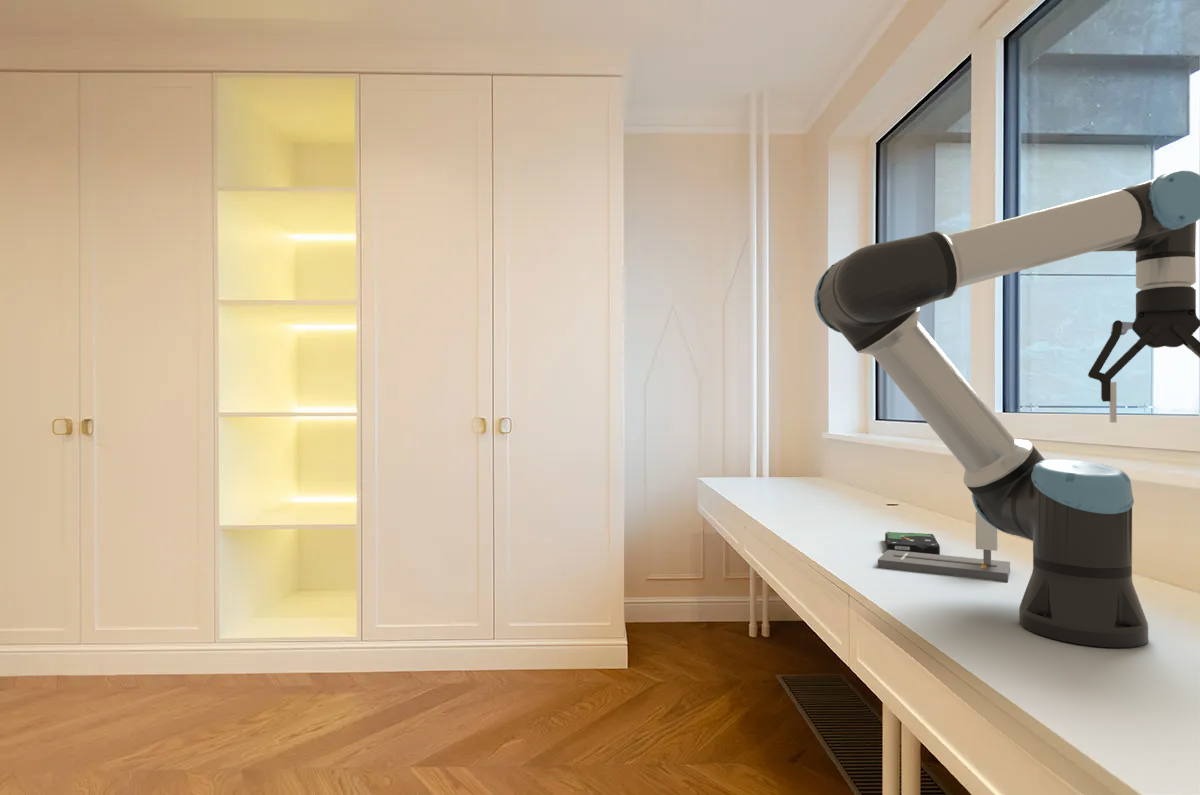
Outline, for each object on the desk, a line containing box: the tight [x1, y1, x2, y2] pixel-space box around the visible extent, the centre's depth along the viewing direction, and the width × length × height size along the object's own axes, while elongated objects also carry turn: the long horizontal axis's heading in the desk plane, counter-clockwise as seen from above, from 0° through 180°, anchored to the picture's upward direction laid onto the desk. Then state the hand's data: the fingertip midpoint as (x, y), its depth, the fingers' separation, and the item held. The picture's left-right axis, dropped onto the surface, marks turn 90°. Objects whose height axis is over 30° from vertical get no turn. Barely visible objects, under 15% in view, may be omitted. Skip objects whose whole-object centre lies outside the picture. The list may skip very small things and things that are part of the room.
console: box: [877, 549, 1011, 583], centre depth 142 cm, size 11×22×2 cm, turn 59°
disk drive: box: [884, 531, 941, 555], centre depth 161 cm, size 10×3×15 cm
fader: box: [975, 509, 1000, 565], centre depth 138 cm, size 5×4×10 cm
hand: (1165, 423), depth 116 cm, fingers open, 13 cm apart
